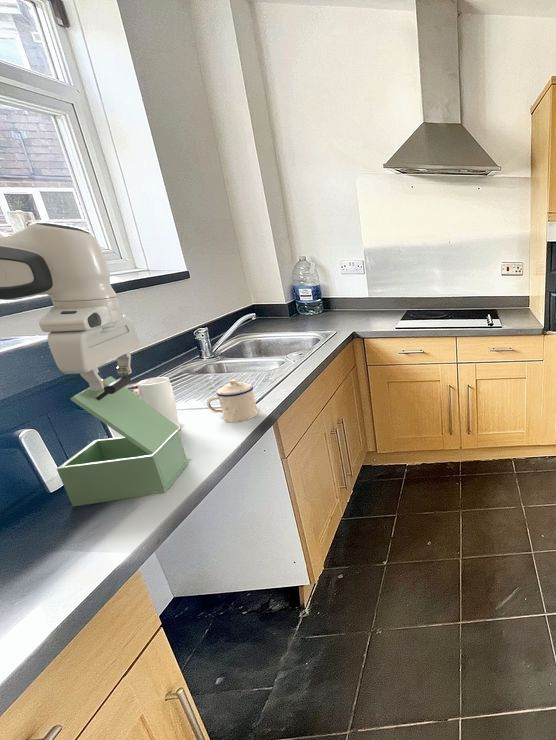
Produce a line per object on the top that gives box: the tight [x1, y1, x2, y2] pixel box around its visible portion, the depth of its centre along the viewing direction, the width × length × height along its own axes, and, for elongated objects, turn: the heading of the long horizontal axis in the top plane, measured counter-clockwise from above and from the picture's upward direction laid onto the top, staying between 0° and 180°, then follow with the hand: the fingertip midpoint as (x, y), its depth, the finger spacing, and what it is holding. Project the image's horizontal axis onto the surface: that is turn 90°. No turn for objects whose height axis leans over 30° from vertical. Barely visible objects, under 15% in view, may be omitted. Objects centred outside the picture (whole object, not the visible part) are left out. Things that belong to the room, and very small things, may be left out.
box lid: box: [69, 375, 179, 455], centre depth 87 cm, size 16×13×5 cm
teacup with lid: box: [206, 378, 259, 423], centre depth 122 cm, size 12×9×12 cm
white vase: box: [136, 376, 181, 431], centre depth 112 cm, size 7×7×15 cm
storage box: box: [56, 430, 189, 507], centre depth 90 cm, size 16×13×9 cm
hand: (113, 381), depth 84 cm, fingers open, 8 cm apart
